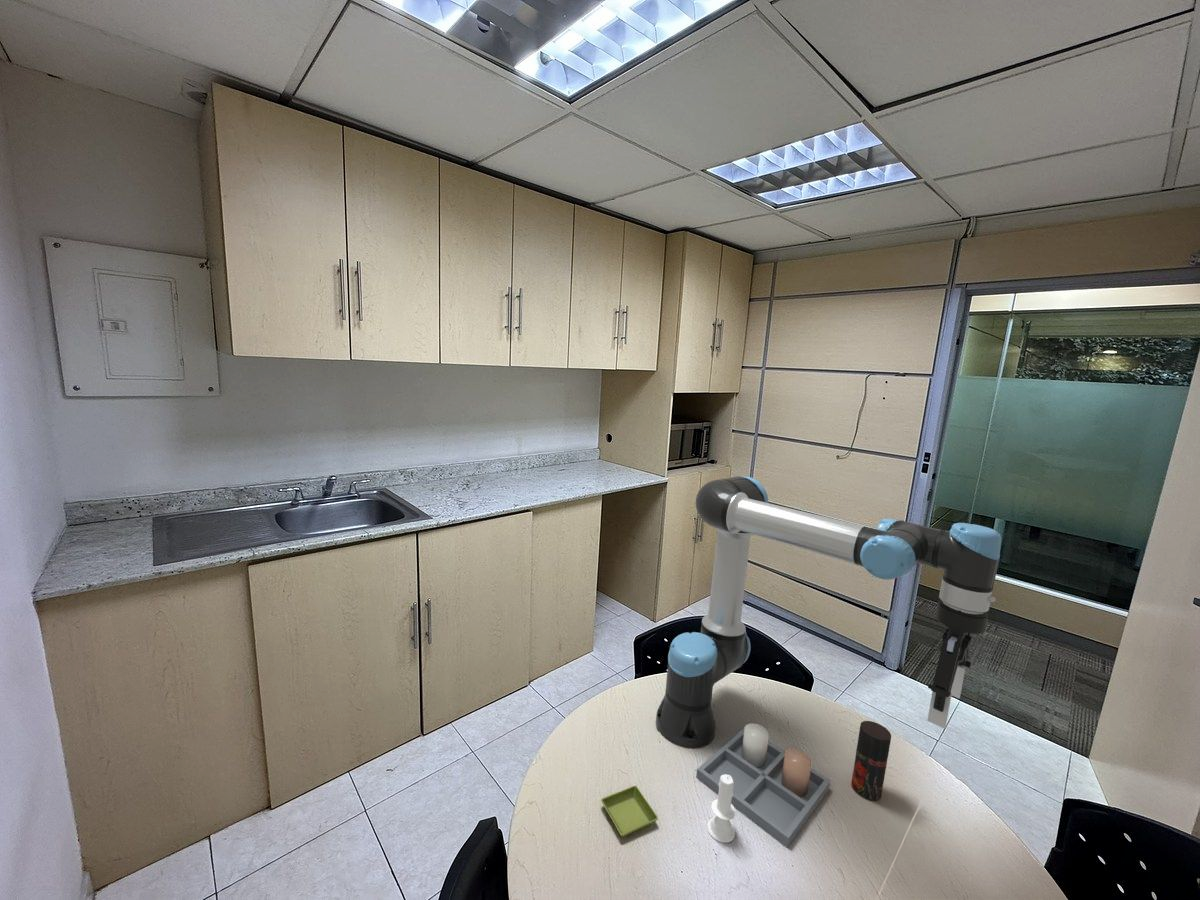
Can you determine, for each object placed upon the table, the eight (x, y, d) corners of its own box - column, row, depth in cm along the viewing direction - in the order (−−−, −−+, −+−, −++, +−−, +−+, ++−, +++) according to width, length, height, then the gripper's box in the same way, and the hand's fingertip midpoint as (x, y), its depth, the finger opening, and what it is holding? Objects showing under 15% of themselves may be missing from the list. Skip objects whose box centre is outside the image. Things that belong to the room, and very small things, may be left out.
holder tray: (696, 779, 105) (697, 769, 105) (743, 735, 120) (745, 727, 119) (786, 849, 90) (788, 838, 90) (829, 790, 105) (830, 780, 104)
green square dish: (620, 845, 89) (621, 835, 89) (599, 807, 97) (600, 798, 96) (658, 827, 93) (659, 818, 93) (635, 793, 101) (635, 784, 100)
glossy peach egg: (776, 784, 105) (780, 756, 104) (787, 771, 109) (791, 744, 108) (801, 801, 101) (805, 771, 100) (811, 787, 105) (815, 759, 104)
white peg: (716, 813, 97) (722, 760, 95) (739, 831, 93) (746, 777, 92) (701, 829, 93) (708, 774, 92) (725, 848, 89) (732, 792, 88)
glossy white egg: (736, 757, 112) (740, 730, 111) (748, 746, 116) (751, 720, 115) (758, 771, 108) (761, 744, 107) (769, 759, 112) (773, 733, 111)
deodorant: (885, 805, 102) (896, 742, 100) (855, 799, 103) (865, 737, 101) (875, 783, 107) (885, 723, 106) (847, 777, 109) (856, 718, 107)
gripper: (976, 634, 78) (954, 750, 80) (997, 596, 95) (979, 693, 98) (923, 616, 83) (904, 726, 86) (952, 583, 100) (936, 675, 103)
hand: (944, 708), depth 92 cm, fingers open, 13 cm apart
